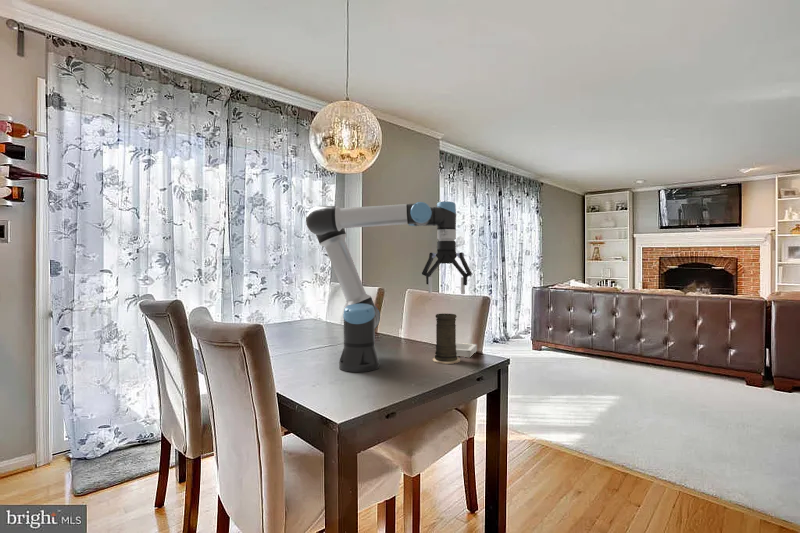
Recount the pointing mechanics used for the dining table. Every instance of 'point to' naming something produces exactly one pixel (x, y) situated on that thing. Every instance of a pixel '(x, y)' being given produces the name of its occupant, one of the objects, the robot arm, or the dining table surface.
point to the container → (446, 337)
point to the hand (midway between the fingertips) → (446, 293)
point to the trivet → (446, 362)
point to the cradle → (465, 349)
